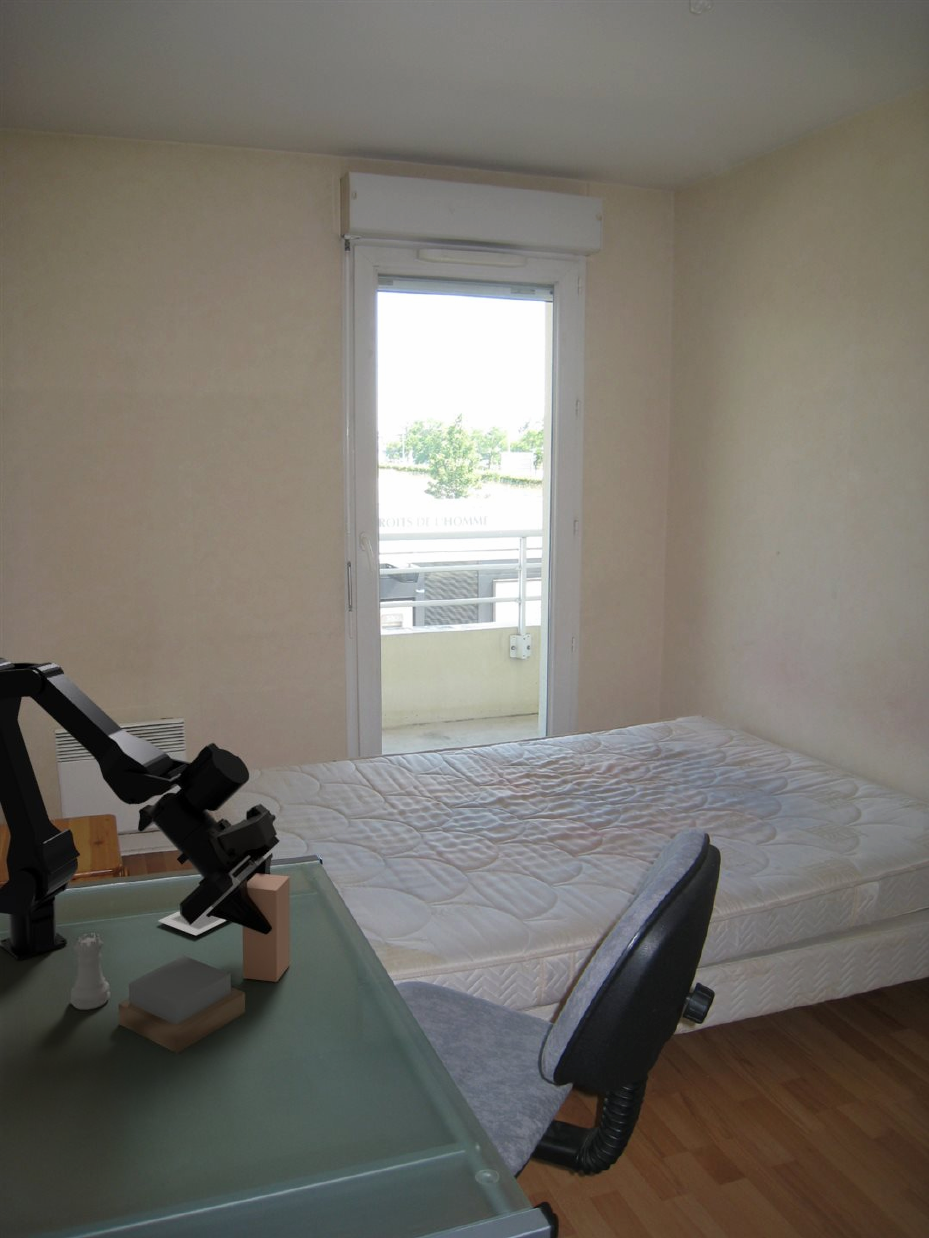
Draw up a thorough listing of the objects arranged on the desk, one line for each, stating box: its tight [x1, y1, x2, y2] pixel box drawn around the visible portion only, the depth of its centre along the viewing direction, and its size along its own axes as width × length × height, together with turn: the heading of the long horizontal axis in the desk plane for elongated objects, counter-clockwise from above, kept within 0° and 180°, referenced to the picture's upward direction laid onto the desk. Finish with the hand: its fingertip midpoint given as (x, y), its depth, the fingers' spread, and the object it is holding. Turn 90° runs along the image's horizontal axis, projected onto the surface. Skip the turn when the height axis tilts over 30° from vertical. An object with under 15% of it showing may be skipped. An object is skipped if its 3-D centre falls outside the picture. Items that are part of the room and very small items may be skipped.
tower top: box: [128, 955, 232, 1025], centre depth 108 cm, size 8×8×2 cm
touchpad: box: [157, 907, 227, 936], centre depth 136 cm, size 8×15×2 cm, turn 148°
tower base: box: [118, 986, 246, 1054], centre depth 108 cm, size 10×10×3 cm
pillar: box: [242, 873, 291, 983], centre depth 118 cm, size 4×4×12 cm
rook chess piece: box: [70, 933, 111, 1011], centre depth 111 cm, size 4×4×8 cm
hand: (276, 923), depth 118 cm, fingers closed on pillar, 4 cm apart
